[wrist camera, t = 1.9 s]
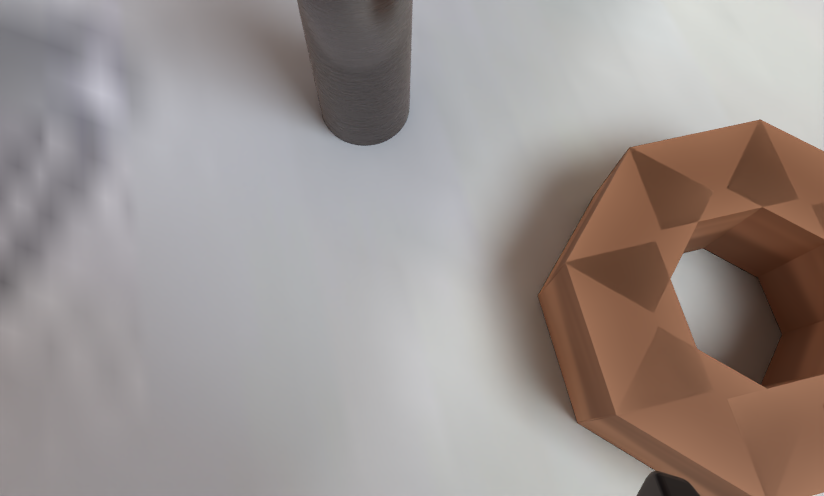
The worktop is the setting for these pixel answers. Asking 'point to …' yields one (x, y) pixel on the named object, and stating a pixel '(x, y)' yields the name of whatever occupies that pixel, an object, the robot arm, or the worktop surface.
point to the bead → (665, 322)
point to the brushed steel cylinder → (360, 65)
